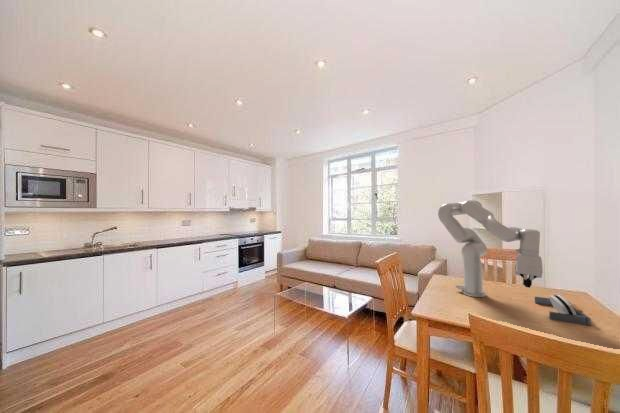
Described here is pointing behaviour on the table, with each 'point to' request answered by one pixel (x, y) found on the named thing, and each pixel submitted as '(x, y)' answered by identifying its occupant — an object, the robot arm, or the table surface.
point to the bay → (577, 319)
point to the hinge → (562, 305)
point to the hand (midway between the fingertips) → (527, 286)
